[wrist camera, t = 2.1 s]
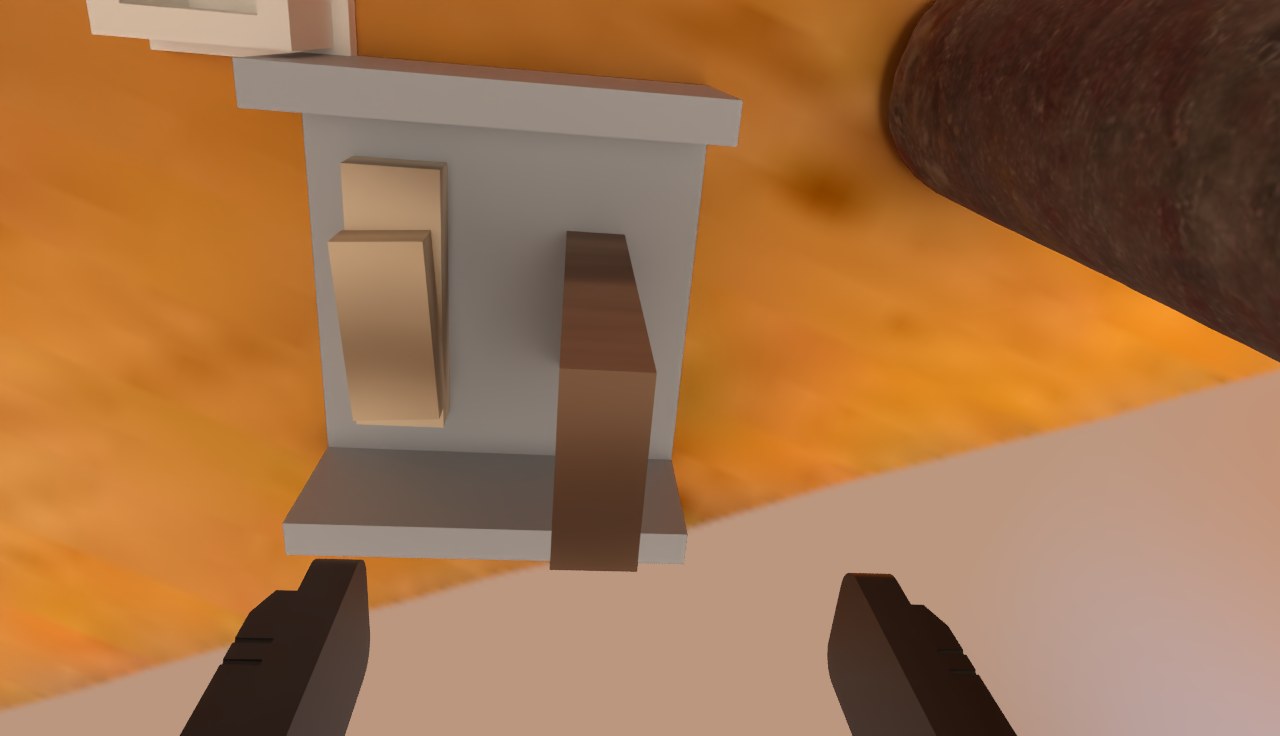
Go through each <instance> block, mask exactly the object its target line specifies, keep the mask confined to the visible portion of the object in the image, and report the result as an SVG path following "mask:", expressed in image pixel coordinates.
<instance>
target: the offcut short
mask: <svg viewBox="0 0 1280 736" xmlns="http://www.w3.org/2000/svg"><path fill="white" fill-rule="evenodd" d="M327 243H328V250H329V257H330V264H331V271H332V278H333V285H334V292H335V299H336V306H337V313H338V320H339V327H340V334H341V341H342V348H343V355H344V362H345V369H346V376H347V383H348V390H349V396H350V403H351V410H352V417H353V421H373V420H423V419H440V416H441V413H442V410H443V407H444V405H445V402H446V392H445V381H444V370H443V359H442V348H441V337H440V326H439V315H438V304H437V293H436V282H435V271H434V260H433V249H432V238H431V230H341V231H340V232H338V233H337V234H336V235H335V236H334V237H333V238H331V239H330V240H329V241H328V242H327Z"/></svg>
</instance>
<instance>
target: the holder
mask: <svg viewBox="0 0 1280 736" xmlns="http://www.w3.org/2000/svg"><path fill="white" fill-rule="evenodd" d="M86 2H87V8H88V14H89V20H90V26H91V32H92V34H96V35H108V36H119V37H131V38H143V39H149V41H150V48H151V50H162V51H174V52H186V53H198V54H210V55H222V56H234V57H246V56H259V55H271V54H283V53H295V52H308V53H319V54H331V55H343V56H357V38H356V19H355V0H86Z"/></svg>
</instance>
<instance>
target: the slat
mask: <svg viewBox="0 0 1280 736" xmlns="http://www.w3.org/2000/svg"><path fill="white" fill-rule="evenodd" d="M656 376H657V372H656V367H655V363H654V359H653V354H652V350H651V346H650V341H649V337H648V333H647V328H646V324H645V320H644V315H643V311H642V307H641V302H640V298H639V294H638V290H637V285H636V281H635V277H634V272H633V268H632V264H631V259H630V255H629V251H628V246H627V242H626V238H625V235H624V234H609V233H594V232H578V231H567V234H566V253H565V272H564V291H563V310H562V329H561V348H560V367H559V387H558V408H557V429H556V450H555V470H554V491H553V512H552V533H551V553H550V570H587V571H631V572H636V571H637V566H638V556H639V546H640V536H641V526H642V516H643V506H644V496H645V486H646V476H647V466H648V456H649V446H650V436H651V426H652V416H653V406H654V396H655V386H656Z"/></svg>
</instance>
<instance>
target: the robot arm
mask: <svg viewBox="0 0 1280 736" xmlns="http://www.w3.org/2000/svg"><path fill="white" fill-rule="evenodd" d="M369 647H370V627H369V610H368V593H367V576H366V566H365V562H364V561H363V560H349V559H315V560H314V561H313V562H312V563H311V565H310V567H309V569H308V571H307V573H306V575H305V577H304V579H303V581H302V583H301V585H300V587H299V589H298V591H284V590H276V591H275V592H274V593H272V594H271V595H270V596H269V597H268V598H266V599H265V600H264V601H263V602H262V603H260V604H259V605H258V606H257V607H256V608H254V609H253V610H252V611H251V612H250V613H249V615H248V616H247V618H246V620H245V622H244V623H243V625H242V627H241V629H240V630H239V632H238V634H237V636H236V637H235V643H232V644H231V646H230V648H229V650H228V652H227V653H226V655H225V657H224V659H223V664H222V665H220V666H219V667H218V669H217V671H216V673H215V675H214V676H213V678H212V680H211V682H210V683H209V685H208V687H207V689H206V690H205V692H204V694H203V696H202V697H201V699H200V701H199V703H198V705H197V706H196V708H195V710H194V711H193V713H192V715H191V717H190V718H189V720H188V722H187V724H186V726H185V727H184V729H183V731H182V733H181V734H180V736H345V733H346V730H347V727H348V724H349V721H350V718H351V715H352V712H353V709H354V706H355V703H356V700H357V697H358V694H359V691H360V688H361V685H362V682H363V679H364V675H365V672H366V668H367V662H368V657H369ZM827 655H828V669H829V674H830V679H831V682H832V685H833V687H834V690H835V692H836V695H837V697H838V700H839V703H840V705H841V708H842V710H843V712H844V715H845V718H846V720H847V723H848V725H849V728H850V730H851V733H852V735H853V736H1017V735H1016V734H1015V732H1014V730H1013V729H1012V727H1011V726H1010V724H1009V722H1008V721H1007V719H1006V718H1005V716H1004V714H1003V713H1002V711H1001V710H1000V708H999V706H998V705H997V703H996V702H995V700H994V699H993V697H992V695H991V694H990V692H989V690H988V689H987V687H986V686H985V684H984V683H983V681H982V680H981V678H980V676H979V675H976V673H975V668H974V667H973V665H972V663H971V662H970V660H969V659H968V657H967V655H964V654H963V649H962V647H961V646H960V644H959V643H958V641H957V640H956V638H955V636H954V635H953V633H952V632H951V630H950V628H949V627H948V626H947V625H946V624H945V623H944V622H943V621H941V620H940V619H939V618H938V617H937V616H936V615H934V614H933V613H932V612H931V611H930V610H929V609H927V608H926V607H925V606H924V605H911V604H910V602H909V601H908V599H907V597H906V596H905V594H904V592H903V590H902V589H901V587H900V585H899V584H898V582H897V580H896V579H895V577H894V576H893V575H891V574H871V573H870V574H869V573H868V574H867V573H847V574H846V575H845V576H844V578H843V581H842V585H841V588H840V592H839V597H838V602H837V606H836V611H835V616H834V620H833V624H832V629H831V634H830V638H829V643H828V654H827Z"/></svg>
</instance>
